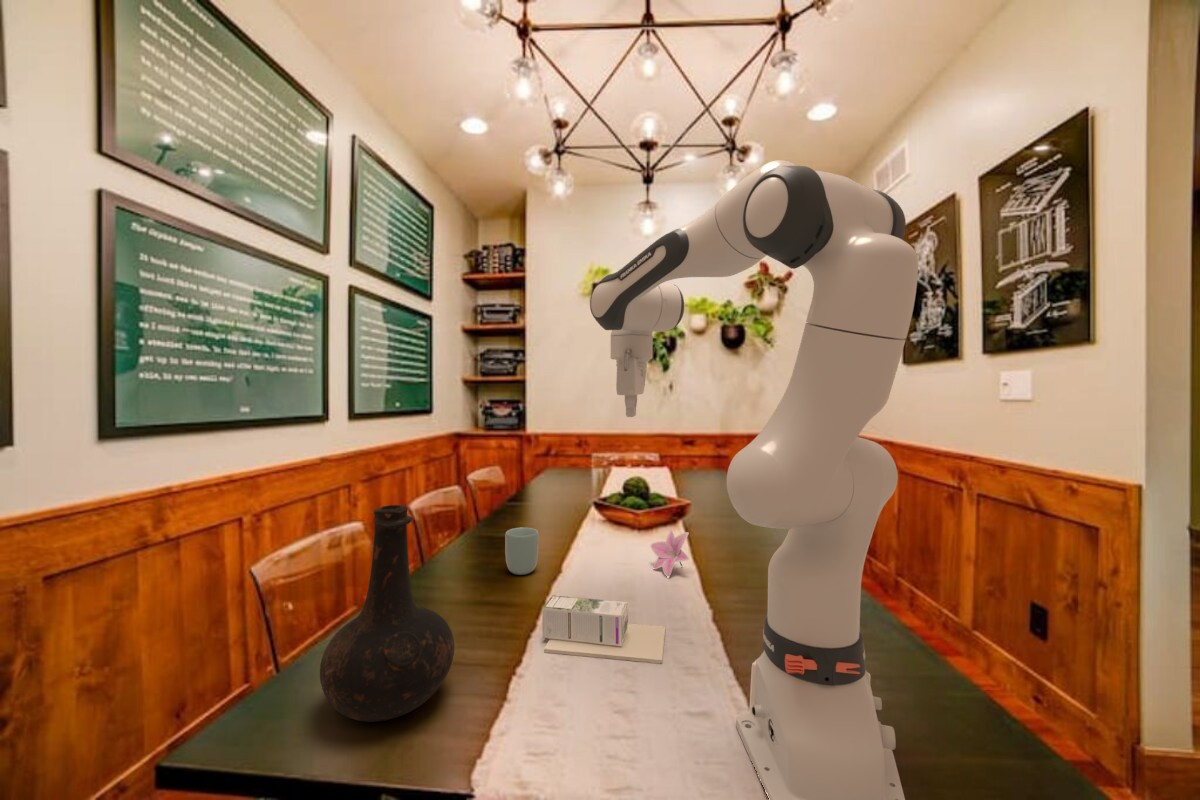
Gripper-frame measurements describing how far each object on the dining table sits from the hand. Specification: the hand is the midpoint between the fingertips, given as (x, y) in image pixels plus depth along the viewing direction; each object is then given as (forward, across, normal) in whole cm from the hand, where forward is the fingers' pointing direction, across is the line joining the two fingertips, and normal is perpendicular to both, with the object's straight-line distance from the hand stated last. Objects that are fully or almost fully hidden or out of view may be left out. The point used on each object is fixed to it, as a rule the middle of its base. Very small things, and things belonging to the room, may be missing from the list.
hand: (630, 416), depth 108 cm
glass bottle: (+39, -41, +30) cm, 64 cm away
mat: (+39, -18, +2) cm, 43 cm away
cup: (+39, +12, +28) cm, 50 cm away
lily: (+39, +20, -8) cm, 45 cm away
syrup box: (+36, -18, +13) cm, 42 cm away
